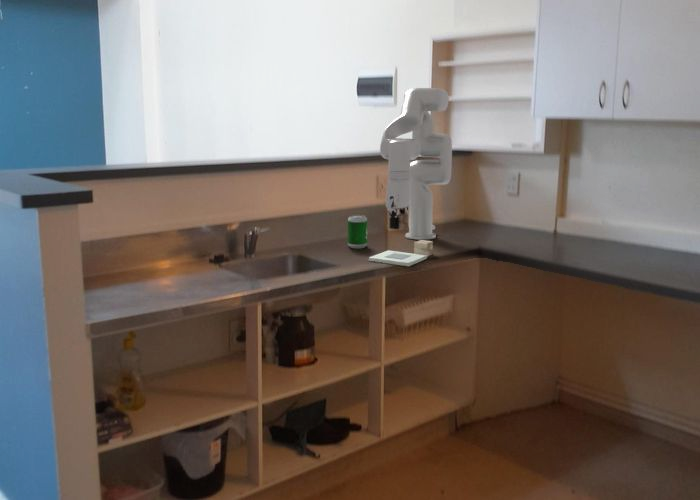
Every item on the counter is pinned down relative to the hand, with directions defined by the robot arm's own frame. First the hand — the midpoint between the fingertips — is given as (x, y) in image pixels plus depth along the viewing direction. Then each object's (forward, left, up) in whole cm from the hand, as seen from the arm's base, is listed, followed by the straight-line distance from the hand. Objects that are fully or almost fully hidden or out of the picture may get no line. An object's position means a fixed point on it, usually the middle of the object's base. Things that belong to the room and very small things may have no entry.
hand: (398, 226), depth 251 cm
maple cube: (-12, +4, -12) cm, 18 cm away
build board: (0, 0, -12) cm, 12 cm away
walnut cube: (0, 0, -1) cm, 1 cm away
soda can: (-11, -24, -12) cm, 29 cm away
